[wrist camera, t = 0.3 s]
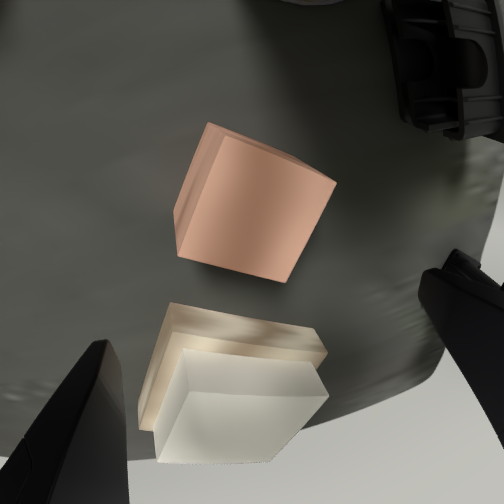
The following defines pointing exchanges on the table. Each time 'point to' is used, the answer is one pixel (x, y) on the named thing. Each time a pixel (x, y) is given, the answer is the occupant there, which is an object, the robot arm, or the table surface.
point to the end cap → (449, 65)
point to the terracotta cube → (247, 205)
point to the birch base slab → (219, 347)
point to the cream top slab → (234, 408)
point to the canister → (313, 2)
